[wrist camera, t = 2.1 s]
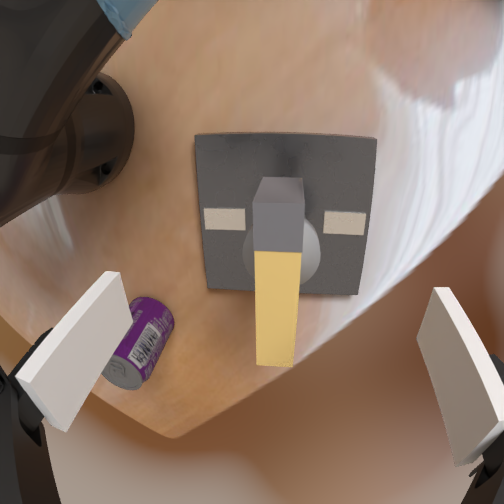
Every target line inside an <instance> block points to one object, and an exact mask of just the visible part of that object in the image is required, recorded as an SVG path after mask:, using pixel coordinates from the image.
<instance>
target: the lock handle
mask: <svg viewBox="0 0 504 504" xmlns="http://www.w3.org/2000/svg"><path fill="white" fill-rule="evenodd" d="M252 204H253V224H252V225H251V227H250V228H249V230H248V233H247V236H246V239H245V242H244V244H243V249H242V257H243V262H244V265H245V267H246V269H247V271H248V272H249V273H250V275H251V276H252V277H253V278H254V279H255V307H256V363H257V365H264V366H280V367H293V357H294V346H295V336H296V324H297V312H298V299H299V285H301V284H303V283H305V282H306V281H308V280H309V279H310V278H311V277H312V276H313V275H314V273H315V272H316V270H317V268H318V266H319V263H320V257H321V253H320V245H319V238H318V235H317V232H316V230H315V228H314V227H313V225H312V224H311V223H310V222H309V221H308V220H307V219H306V218H304V213H305V200H304V189H303V180H302V178H291V177H263V178H262V180H261V183H260V185H259V188H258V190H257V193H256V195H255V197H254V200H253V202H252Z"/></svg>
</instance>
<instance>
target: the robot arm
mask: <svg viewBox="0 0 504 504" xmlns="http://www.w3.org/2000/svg"><path fill="white" fill-rule="evenodd" d="M157 1H158V0H0V227H2V226H3V225H5V224H6V223H8V222H9V221H11V220H13V219H14V218H16V217H17V216H19V215H21V214H22V213H24V212H26V211H27V210H29V209H31V208H32V207H34V206H36V205H37V204H39V203H41V202H43V201H44V200H46V199H48V198H49V197H51V196H53V195H63V194H84V193H88V192H92V191H94V190H96V189H98V188H100V187H102V186H104V185H105V184H107V183H109V182H110V181H111V180H113V179H114V178H115V177H116V176H117V175H118V174H119V173H120V171H121V170H122V169H123V167H124V165H125V164H126V162H127V160H128V157H129V155H130V152H131V149H132V144H133V139H134V117H133V112H132V108H131V105H130V102H129V99H128V97H127V95H126V93H125V92H124V90H123V89H122V87H121V86H120V85H119V84H118V83H117V82H116V81H115V80H114V79H112V78H111V77H110V76H108V75H106V74H104V73H101V72H100V71H101V69H102V68H103V67H104V65H105V64H106V63H107V61H108V60H109V59H110V58H111V56H112V55H113V54H114V53H115V52H116V50H117V49H118V48H119V47H120V46H121V44H122V43H123V42H124V41H125V40H128V39H129V38H130V37H131V36H132V31H133V30H134V29H135V27H136V26H137V25H138V24H139V22H140V21H141V20H142V19H143V17H144V16H145V15H146V14H147V13H148V12H149V10H150V9H151V8H152V7H153V6H154V5H155V4H156V2H157ZM132 323H133V319H132V316H131V312H130V309H129V305H128V302H127V298H126V294H125V291H124V287H123V283H122V279H121V275H120V272H110V271H105V272H104V273H103V274H102V275H101V277H100V278H99V279H98V280H97V281H96V282H95V283H94V284H93V285H92V286H91V287H90V288H89V289H88V290H87V291H86V293H85V294H84V295H83V296H82V297H81V298H80V299H79V300H78V301H77V302H76V304H75V305H74V306H73V307H72V308H71V309H70V310H69V311H68V313H67V314H66V315H65V316H64V317H63V318H62V319H61V321H60V322H59V323H58V324H57V325H56V326H55V327H54V328H51V329H49V330H48V331H46V332H45V333H43V334H42V335H41V336H40V337H39V338H38V340H37V341H36V342H35V345H33V346H32V347H31V348H30V349H29V352H27V353H26V354H25V355H24V356H23V358H22V359H21V360H20V361H19V363H18V364H17V365H16V367H15V368H14V369H13V370H12V372H11V373H10V374H9V375H8V376H7V375H6V374H5V372H4V370H3V369H2V367H1V366H0V504H61V501H60V498H59V494H58V491H57V487H56V483H55V479H54V475H53V471H52V467H51V462H50V457H49V452H48V447H47V441H46V435H45V429H44V426H43V424H42V422H41V421H42V419H43V418H44V417H45V418H46V419H47V421H48V422H49V423H50V425H51V426H53V427H55V428H58V429H60V430H62V431H64V432H67V430H68V429H69V427H70V425H71V423H72V422H73V419H74V418H75V416H76V414H77V413H78V411H79V409H80V407H81V406H82V404H83V403H84V401H85V399H86V397H87V396H88V394H89V392H90V391H91V389H92V387H93V386H94V384H95V382H96V381H97V379H98V377H99V376H100V374H101V372H102V371H103V369H104V368H105V366H106V364H107V363H108V361H109V359H110V358H111V356H112V355H113V353H114V351H115V350H116V348H117V347H118V345H119V344H120V342H121V340H122V339H123V337H124V336H125V334H126V333H127V331H128V330H129V328H130V326H131V325H132ZM416 339H417V342H418V344H419V347H420V349H421V353H422V355H423V358H424V361H425V364H426V367H427V369H428V372H429V375H430V378H431V381H432V384H433V387H434V390H435V393H436V397H437V400H438V403H439V407H440V410H441V413H442V417H443V420H444V424H445V427H446V431H447V435H448V439H449V443H450V446H451V451H452V455H453V459H454V464H455V467H458V466H462V465H466V464H469V463H473V462H474V461H475V460H476V459H477V458H478V457H479V456H480V455H481V454H482V455H483V459H484V461H483V462H482V463H481V464H479V465H478V466H477V467H476V468H475V469H474V470H473V471H472V472H471V473H470V475H469V477H471V476H472V475H474V474H475V473H476V472H477V473H476V475H475V477H474V479H473V481H472V483H471V485H470V487H469V489H468V491H467V493H466V495H465V497H464V499H463V501H462V503H461V504H504V363H503V362H502V361H501V360H500V359H499V358H498V357H497V356H496V355H495V354H492V355H488V353H487V351H486V349H485V347H484V345H483V344H482V342H481V340H480V338H479V337H478V335H477V333H476V331H475V329H474V328H473V326H472V324H471V322H470V321H469V319H468V318H467V316H466V314H465V312H464V311H463V309H462V307H461V306H460V304H459V303H458V301H457V299H456V298H455V296H454V295H453V293H452V292H451V290H450V288H449V287H434V288H433V291H432V294H431V298H430V301H429V304H428V307H427V310H426V313H425V316H424V319H423V322H422V324H421V327H420V330H419V333H418V335H417V338H416Z"/></svg>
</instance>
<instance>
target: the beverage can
mask: <svg viewBox="0 0 504 504" xmlns="http://www.w3.org/2000/svg"><path fill="white" fill-rule="evenodd" d="M129 309H130V312H131V316H132V319H133V323H132V325H131V326H130V328H129V330H128V331H127V333H126V334H125V336H124V337H123V339H122V340H121V342H120V344H119V345H118V347H117V348H116V350H115V351H114V353H113V355H112V356H111V358H110V359H109V361H108V363H107V364H106V366H105V368H104V369H103V371H102V372H101V374H102V375H103V376H104V377H105V378H106V379H107V380H108V381H110V382H111V383H112V384H114V385H116V386H118V387H120V388H123V389H126V390H137V389H139V388H140V387H141V385H142V383H143V382H145V381H146V380H148V379H149V377H150V375H151V373H152V371H153V369H154V367H155V365H156V363H157V361H158V359H159V356H160V354H161V352H162V350H163V348H164V346H165V344H166V342H167V340H168V338H169V336H170V334H171V332H172V330H173V328H174V319H173V316H172V314H171V312H170V311H169V310H168V308H167V307H166V306H165V305H163V304H162V303H161V302H159V301H157V300H155V299H153V298H149V297H139V298H136V299H134V300H133V301H132V302H131V303H130V305H129Z"/></svg>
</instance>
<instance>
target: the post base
mask: <svg viewBox="0 0 504 504" xmlns="http://www.w3.org/2000/svg"><path fill="white" fill-rule="evenodd" d="M376 147H377V139H375V138H372V137H362V136H350V135H337V134H320V133H296V132H227V133H203V134H197V135H195V151H196V167H197V180H198V193H199V206H200V217H201V228H202V239H203V249H204V259H205V268H206V278H207V286H208V288H214V289H230V290H247V291H255V279H254V278H253V277H252V276H251V275H250V273H249V272H248V271H247V269H246V267H245V265H244V262H243V257H242V249H243V244H244V242H245V239H246V236H247V233H248V230H249V228H250V227H251V225H252V224H253V204H252V202H253V200H254V197H255V195H256V193H257V190H258V188H259V185H260V183H261V180H262V178H263V177H291V178H302V180H303V189H304V200H305V213H304V218H306V219H307V220H308V221H309V222H310V223H311V224H312V225H313V227H314V228H315V230H316V232H317V235H318V238H319V245H320V253H321V257H320V263H319V266H318V268H317V270H316V272H315V273H314V275H313V276H312V277H311V278H310V279H309V280H308V281H306V282H305V283H303V284H301V285H299V293H311V294H341V295H358V290H359V285H360V279H361V273H362V268H363V262H364V255H365V249H366V242H367V235H368V228H369V220H370V212H371V204H372V195H373V185H374V174H375V162H376Z"/></svg>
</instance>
